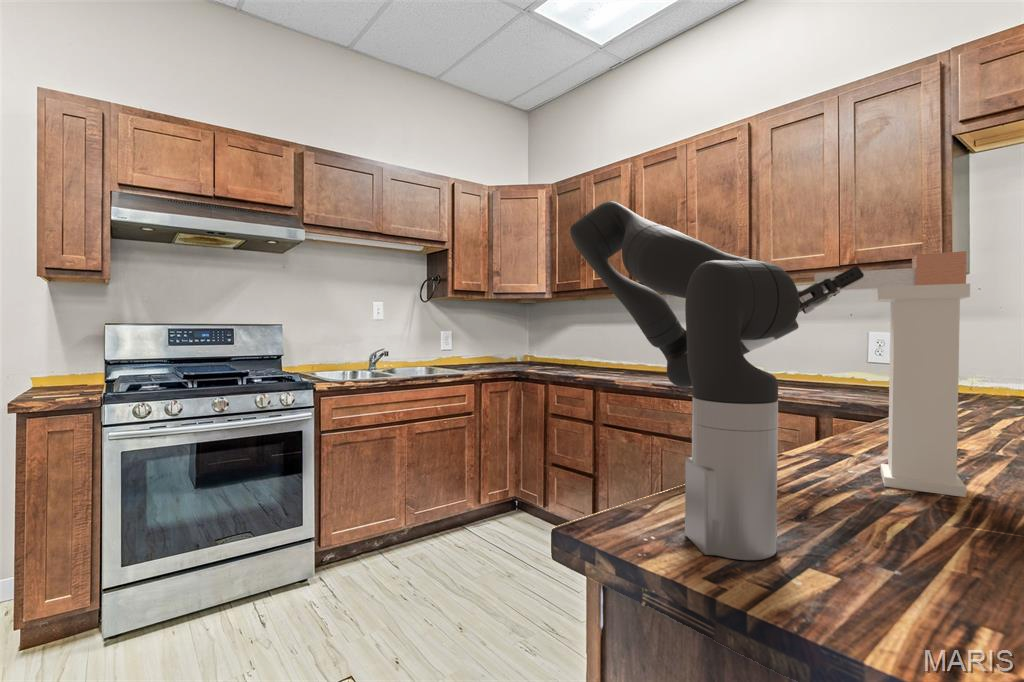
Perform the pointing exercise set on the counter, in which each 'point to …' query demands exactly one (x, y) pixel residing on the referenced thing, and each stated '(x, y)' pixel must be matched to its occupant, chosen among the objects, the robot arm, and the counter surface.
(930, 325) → the stand
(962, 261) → the peg
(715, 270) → the robot arm
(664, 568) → the counter surface
